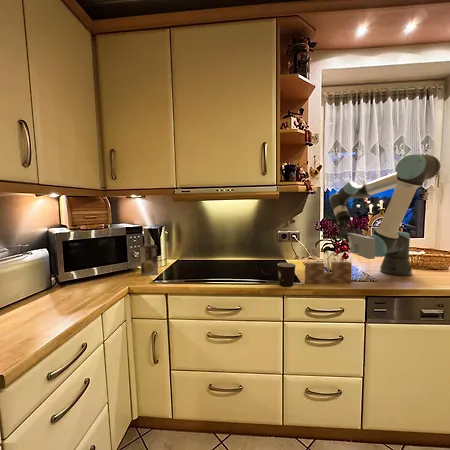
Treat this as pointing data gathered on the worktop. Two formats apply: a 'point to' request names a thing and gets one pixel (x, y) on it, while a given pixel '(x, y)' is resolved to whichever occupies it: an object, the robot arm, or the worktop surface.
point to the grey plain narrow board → (362, 245)
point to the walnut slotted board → (317, 275)
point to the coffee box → (148, 260)
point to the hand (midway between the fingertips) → (354, 246)
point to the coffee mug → (286, 274)
